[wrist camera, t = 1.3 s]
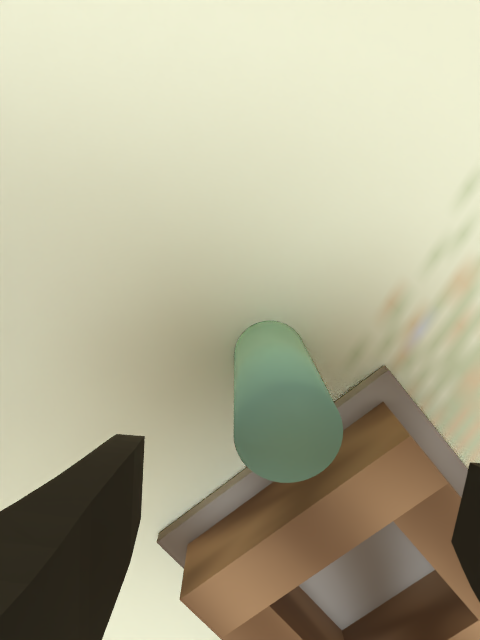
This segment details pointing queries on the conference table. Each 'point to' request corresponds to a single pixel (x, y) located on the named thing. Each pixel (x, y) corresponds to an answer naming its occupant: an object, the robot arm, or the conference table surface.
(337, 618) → the socket
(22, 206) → the conference table surface
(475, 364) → the conference table surface
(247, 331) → the peg
